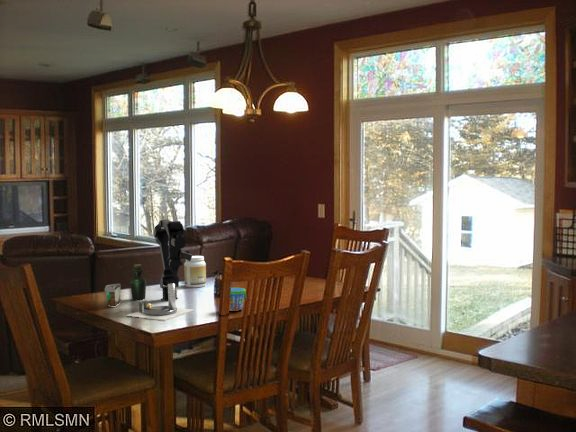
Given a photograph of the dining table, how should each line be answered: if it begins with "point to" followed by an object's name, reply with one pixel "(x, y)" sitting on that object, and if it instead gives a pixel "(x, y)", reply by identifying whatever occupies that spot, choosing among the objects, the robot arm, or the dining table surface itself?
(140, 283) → the potion bottle
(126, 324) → the dining table surface
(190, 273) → the supplement tub
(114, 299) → the food container
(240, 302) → the snack cup
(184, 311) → the level stand
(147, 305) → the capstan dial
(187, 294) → the dining table surface
